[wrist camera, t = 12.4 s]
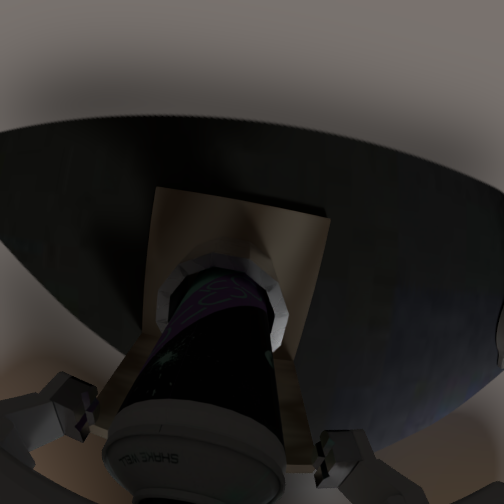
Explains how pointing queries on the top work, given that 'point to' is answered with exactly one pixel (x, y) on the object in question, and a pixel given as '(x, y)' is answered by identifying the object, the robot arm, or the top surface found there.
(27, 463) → the robot arm
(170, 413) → the spray can
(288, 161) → the top surface
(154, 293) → the brown l-shaped piece
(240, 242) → the ring
